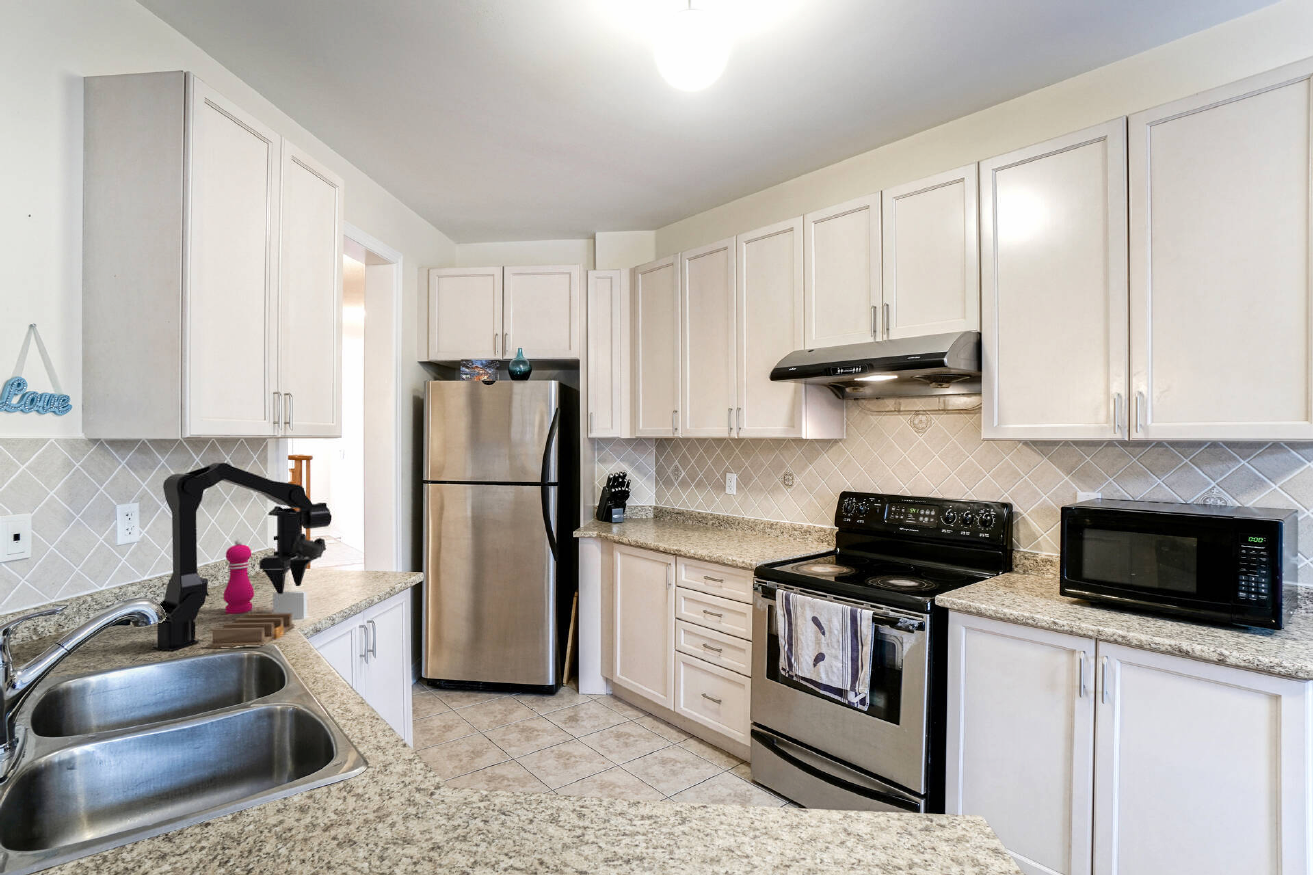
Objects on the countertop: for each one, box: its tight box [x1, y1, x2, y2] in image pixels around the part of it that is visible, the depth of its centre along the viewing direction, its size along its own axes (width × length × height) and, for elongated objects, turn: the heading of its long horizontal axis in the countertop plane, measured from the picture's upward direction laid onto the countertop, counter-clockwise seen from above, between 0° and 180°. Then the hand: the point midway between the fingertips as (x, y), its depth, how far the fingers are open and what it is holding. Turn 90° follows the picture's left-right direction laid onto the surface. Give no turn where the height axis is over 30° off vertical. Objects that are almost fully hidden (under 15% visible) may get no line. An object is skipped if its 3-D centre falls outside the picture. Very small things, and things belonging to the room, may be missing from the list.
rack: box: [209, 612, 295, 650], centre depth 158 cm, size 16×12×4 cm
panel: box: [272, 590, 308, 620], centre depth 175 cm, size 2×8×7 cm, turn 93°
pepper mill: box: [222, 538, 255, 615], centre depth 183 cm, size 7×7×20 cm
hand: (289, 589), depth 175 cm, fingers open, 9 cm apart
